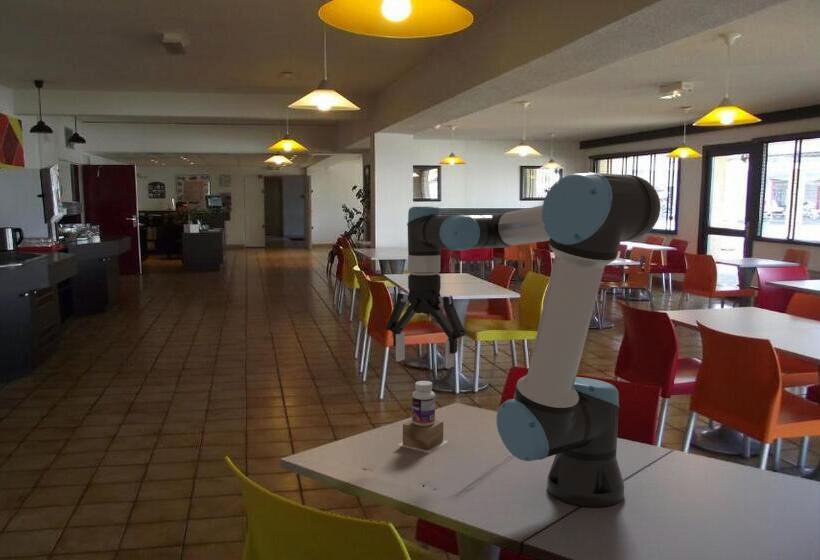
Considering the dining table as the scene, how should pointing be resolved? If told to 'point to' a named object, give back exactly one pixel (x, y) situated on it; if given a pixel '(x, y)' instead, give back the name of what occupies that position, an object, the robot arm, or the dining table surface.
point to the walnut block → (423, 435)
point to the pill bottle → (423, 404)
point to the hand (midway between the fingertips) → (424, 363)
